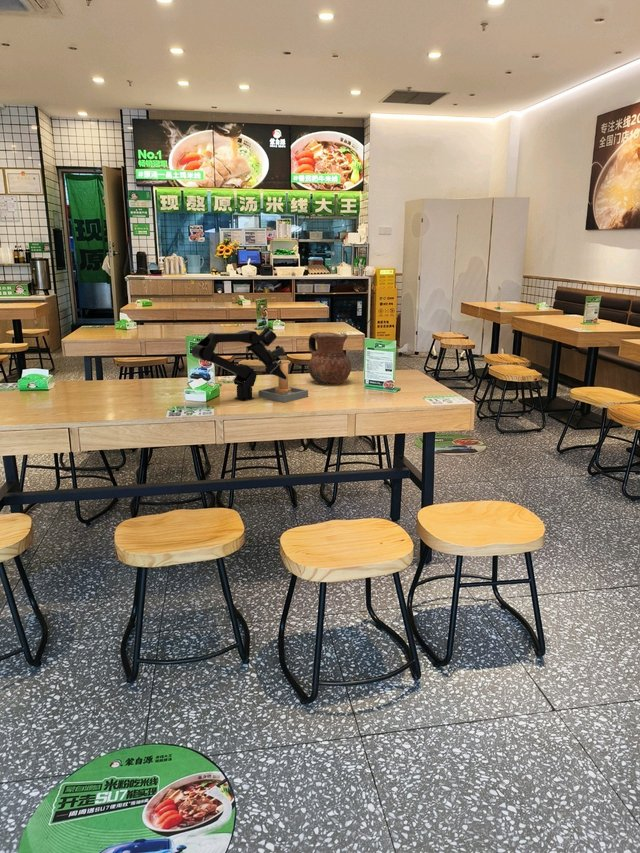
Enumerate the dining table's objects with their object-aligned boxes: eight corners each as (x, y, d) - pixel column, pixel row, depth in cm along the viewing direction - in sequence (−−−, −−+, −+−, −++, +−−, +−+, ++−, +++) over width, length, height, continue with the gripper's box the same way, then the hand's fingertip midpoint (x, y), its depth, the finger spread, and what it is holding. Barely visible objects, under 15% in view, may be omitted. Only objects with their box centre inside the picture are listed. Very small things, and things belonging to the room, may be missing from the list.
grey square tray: (283, 402, 275) (283, 395, 274) (258, 397, 285) (258, 390, 284) (308, 396, 287) (308, 390, 286) (283, 391, 297) (283, 385, 296)
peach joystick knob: (284, 394, 281) (284, 365, 277) (272, 391, 285) (272, 363, 281) (294, 391, 286) (294, 363, 283) (282, 389, 290) (282, 361, 287)
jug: (351, 378, 329) (352, 331, 322) (351, 387, 309) (352, 336, 302) (309, 378, 330) (309, 330, 323) (306, 386, 309) (306, 335, 303)
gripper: (272, 343, 270) (298, 369, 273) (276, 337, 288) (299, 362, 291) (254, 361, 272) (280, 386, 275) (259, 354, 290) (283, 378, 293)
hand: (286, 377), depth 284 cm, fingers closed on peach joystick knob, 4 cm apart
